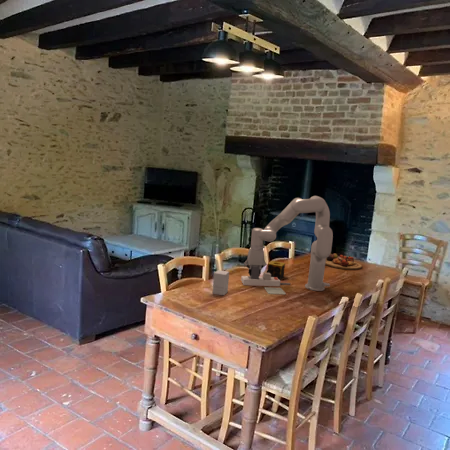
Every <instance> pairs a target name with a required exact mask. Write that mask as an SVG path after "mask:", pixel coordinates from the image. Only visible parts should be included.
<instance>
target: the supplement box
mask: <svg viewBox="0 0 450 450" xmlns="http://www.w3.org/2000/svg"><path fill="white" fill-rule="evenodd" d="M229 279H230V271H226V270H219V269H218V270H216V271H214V273H213V281H212V294H214V295H220V296H225V295H226V294H227V293H228V292H229V290H228V289H229Z"/></svg>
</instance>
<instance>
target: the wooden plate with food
mask: <svg viewBox="0 0 450 450" xmlns="http://www.w3.org/2000/svg"><path fill="white" fill-rule="evenodd" d="M362 265H363V264H361V263H359V262H356V261H355V259H354V256H351V255H349V256H346V255H344V254H339V256H338V253H330V255H329V256H328V257H327V258H326V262H325V266H328V267H331V268H335V269H341V270H347V271H348V270H349V271H356V270H357V271H358V270H362V267H363V266H362Z"/></svg>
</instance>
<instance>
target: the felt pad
mask: <svg viewBox="0 0 450 450" xmlns="http://www.w3.org/2000/svg"><path fill="white" fill-rule="evenodd" d="M263 287H264V288H263V289H264V290H265V291H266V293H267V294H268V295H286V294H287V293H286V292H285V290H283V288H282V287H272V286H263Z"/></svg>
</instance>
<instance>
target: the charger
mask: <svg viewBox="0 0 450 450" xmlns="http://www.w3.org/2000/svg"><path fill="white" fill-rule="evenodd" d="M259 271H260V267H259V266H258V265H252V267H251V276H250V275H249V276H250V278H251V279H259V277H260V276H259Z"/></svg>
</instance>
